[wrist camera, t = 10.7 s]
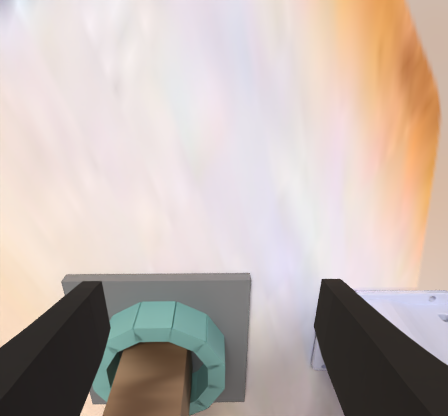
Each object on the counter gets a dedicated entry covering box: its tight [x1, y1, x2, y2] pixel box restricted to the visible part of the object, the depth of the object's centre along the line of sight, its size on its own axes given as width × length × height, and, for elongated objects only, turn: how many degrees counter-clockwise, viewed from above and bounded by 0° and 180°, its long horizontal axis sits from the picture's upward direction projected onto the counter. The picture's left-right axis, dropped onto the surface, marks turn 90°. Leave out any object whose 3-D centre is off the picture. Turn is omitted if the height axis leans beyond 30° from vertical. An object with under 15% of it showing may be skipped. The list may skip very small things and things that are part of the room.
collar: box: [61, 273, 251, 416], centre depth 24 cm, size 13×13×3 cm
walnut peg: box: [103, 342, 193, 416], centre depth 21 cm, size 4×4×8 cm
